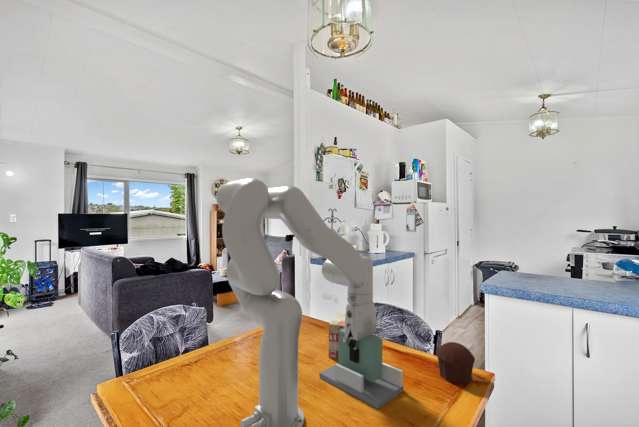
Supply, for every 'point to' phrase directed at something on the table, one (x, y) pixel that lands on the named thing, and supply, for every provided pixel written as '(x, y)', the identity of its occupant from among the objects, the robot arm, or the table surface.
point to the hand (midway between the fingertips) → (359, 358)
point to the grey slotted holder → (366, 384)
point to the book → (363, 356)
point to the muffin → (455, 363)
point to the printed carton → (335, 334)
